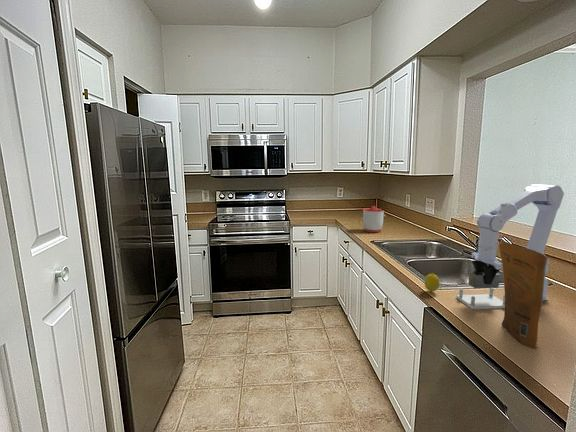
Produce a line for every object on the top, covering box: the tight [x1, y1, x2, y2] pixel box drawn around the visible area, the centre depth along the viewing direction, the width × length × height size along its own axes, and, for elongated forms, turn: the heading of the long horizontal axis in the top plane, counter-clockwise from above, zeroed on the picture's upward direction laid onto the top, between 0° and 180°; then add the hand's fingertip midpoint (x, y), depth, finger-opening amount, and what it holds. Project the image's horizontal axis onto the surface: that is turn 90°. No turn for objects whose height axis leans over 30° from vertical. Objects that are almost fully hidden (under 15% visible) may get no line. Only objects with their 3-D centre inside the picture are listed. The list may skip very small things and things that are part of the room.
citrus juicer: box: [362, 205, 387, 233], centre depth 243 cm, size 16×17×20 cm
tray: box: [456, 288, 505, 310], centre depth 120 cm, size 14×10×4 cm
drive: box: [467, 270, 501, 289], centre depth 119 cm, size 9×4×5 cm, turn 94°
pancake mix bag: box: [498, 240, 549, 349], centre depth 96 cm, size 7×19×28 cm, turn 173°
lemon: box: [424, 272, 441, 293], centre depth 130 cm, size 6×6×8 cm
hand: (484, 281), depth 119 cm, fingers closed on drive, 4 cm apart
